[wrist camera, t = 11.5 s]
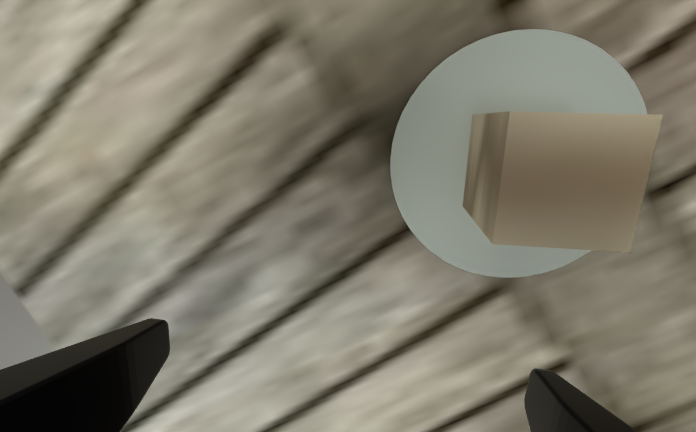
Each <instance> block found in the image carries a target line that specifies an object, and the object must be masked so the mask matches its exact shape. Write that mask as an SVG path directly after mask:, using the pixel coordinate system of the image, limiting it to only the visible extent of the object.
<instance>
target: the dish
mask: <svg viewBox="0 0 696 432" xmlns="http://www.w3.org/2000/svg"><path fill="white" fill-rule="evenodd" d="M509 111H515V112H560V113H606V114H647V110H646V107H645V103H644V101H643V99H642V96H641V94H640V92H639V90H638V88H637V86H636V84H635V83H634V81H633V80H632V78H631V77H630V75H629V74H628V72H627V71H626V70H625V69H624V68H623V67H622V66H621V65H620V64H619V63H618V62H617V61H616V60H615V59H614V58H613V57H612V56H610V55H609V54H608V53H607V52H605V51H604V50H603V49H601V48H599V47H598V46H596V45H594V44H592V43H590V42H589V41H587V40H584V39H582V38H579V37H576V36H574V35H571V34H567V33H563V32H558V31H553V30H542V29H525V30H513V31H508V32H504V33H499V34H495V35H492V36H489V37H486V38H483V39H480V40H478V41H476V42H474V43H472V44H470V45H468V46H466V47H464V48H462V49H460V50H459V51H457V52H456V53H454V54H453V55H451V56H449V57H448V58H447V59H445V60H444V61H443V62H442V63H441V64H439V65H438V66H437V67H436V68H435V69H433V70H432V72H431V73H430V74H429V75H428V76H427V77H426V78H425V79H424V80H423V81H422V82H421V84H420V85H419V86H418V88H417V89H416V90H415V92H414V93H413V95H412V96H411V97H410V99H409V101H408V103H407V105H406V106H405V108H404V110H403V112H402V114H401V117H400V119H399V122H398V124H397V127H396V130H395V134H394V138H393V142H392V150H391V158H390V171H391V181H392V188H393V192H394V196H395V199H396V203H397V205H398V208H399V210H400V212H401V215H402V217H403V219H404V220H405V222H406V224H407V225H408V227H409V229H410V230H411V231H412V232H413V234H414V235H415V236H416V237H417V239H418V240H419V241H420V242H421V243H422V244H423V245H424V246H425V247H426V248H427V249H428V250H429V251H431V252H432V253H434V254H435V255H436V256H438V257H439V258H440V259H442V260H444V261H446V262H447V263H449V264H451V265H453V266H455V267H458V268H460V269H463V270H465V271H468V272H471V273H475V274H479V275H484V276H491V277H503V278H515V277H525V276H532V275H537V274H541V273H545V272H548V271H551V270H554V269H557V268H560V267H563V266H565V265H567V264H569V263H571V262H573V261H575V260H577V259H579V258H580V257H582V256H584V255H585V254H587V253H589V252H590V251H591V250H578V249H562V248H546V247H530V246H514V245H498V244H492V243H491V242H490V240H489V239H488V238H487V237H486V235H485V234H484V233H483V232H482V230H481V229H480V228H479V226H478V225H477V224H476V223H475V221H474V220H473V219H472V217H471V216H470V215H469V214H468V212H467V211H466V210H465V209H464V207H463V197H464V188H465V179H466V170H467V160H468V151H469V142H470V133H471V123H472V115H474V114H486V113H497V112H509Z"/></svg>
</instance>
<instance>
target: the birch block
mask: <svg viewBox="0 0 696 432" xmlns="http://www.w3.org/2000/svg"><path fill="white" fill-rule="evenodd" d="M662 118H663V115H652V114H606V113H560V112H515V111H509V112H497V113H486V114H474V115H472V123H471V133H470V142H469V151H468V160H467V170H466V179H465V188H464V197H463V207H464V209H465V210H466V211H467V212H468V214H469V215H470V216H471V217H472V219H473V220H474V221H475V223H476V224H477V225H478V226H479V228H480V229H481V230H482V232H483V233H484V234H485V235H486V237H487V238H488V239H489V240H490V242H491V243H492V244H498V245H514V246H530V247H546V248H562V249H578V250H594V251H610V252H625V253H631V248H632V244H633V240H634V236H635V231H636V227H637V223H638V219H639V215H640V210H641V206H642V202H643V198H644V194H645V189H646V185H647V181H648V177H649V172H650V168H651V164H652V160H653V156H654V151H655V147H656V143H657V139H658V135H659V130H660V126H661V122H662Z"/></svg>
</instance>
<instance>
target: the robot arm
mask: <svg viewBox="0 0 696 432" xmlns="http://www.w3.org/2000/svg"><path fill="white" fill-rule="evenodd" d="M169 352H170V341H169V328H168V323H167V322H166V321H165V320H160V319H152V318H151V319H147V320H144V321H141V322H138V323H135V324H132V325H129V326H126V327H123V328H121V329H118V330H115V331H112V332H109V333H106V334H103V335H100V336H97V337H94V338H91V339H89V340H86V341H83V342H80V343H77V344H74V345H71V346H68V347H65V348H62V349H59V350H57V351H54V352H51V353H48V354H45V355H42V356H39V357H36V358H33V359H30V360H27V361H25V362H22V363H19V364H16V365H13V366H10V367H7V368H4V369H1V370H0V432H120V431H121V429H122V428H123V426H124V425H125V424H126V422H127V421H128V420H129V418H130V417H131V415H132V414H133V413H134V411H135V410H136V408H137V407H138V405H139V403H140V402H141V400H142V399H143V397H144V395H145V394H146V392H147V390H148V389H149V387H150V386H151V384H152V382H153V381H154V379H155V377H156V376H157V374H158V373H159V371H160V369H161V368H162V366H163V364H164V363H165V361H166V359H167V358H168V355H169ZM524 402H525V410H526V414H527V418H528V422H529V426H530V430H531V432H637V431H636V430H634V429H633V428H632V427H630V426H629V425H627V424H626V423H625V422H623V421H622V420H620V419H619V418H618V417H616V416H615V415H613V414H612V413H611V412H609V411H608V410H606V409H605V408H604V407H602V406H601V405H599V404H598V403H597V402H595V401H594V400H592V399H591V398H590V397H588V396H587V395H585V394H584V393H583V392H581V391H580V390H578V389H577V388H576V387H574V386H573V385H571V384H570V383H569V382H567V381H566V380H564V379H563V378H562V377H560V376H559V375H557V374H556V373H555V372H553V371H550V370H543V369H533V370H532V371H531V373H530V377H529V381H528V386H527V390H526V394H525V401H524Z"/></svg>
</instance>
